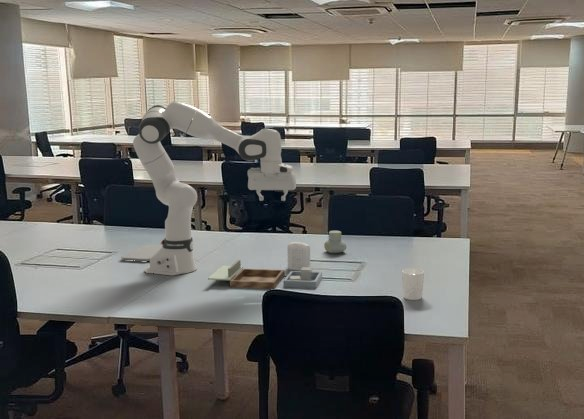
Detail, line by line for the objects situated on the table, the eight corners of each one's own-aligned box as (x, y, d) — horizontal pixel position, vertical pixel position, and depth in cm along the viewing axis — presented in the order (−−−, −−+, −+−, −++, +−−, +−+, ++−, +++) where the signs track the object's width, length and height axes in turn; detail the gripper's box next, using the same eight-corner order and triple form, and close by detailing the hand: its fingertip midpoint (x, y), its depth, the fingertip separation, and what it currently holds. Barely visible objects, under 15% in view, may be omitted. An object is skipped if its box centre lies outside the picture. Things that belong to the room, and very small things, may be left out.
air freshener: (348, 253, 302) (348, 233, 300) (332, 255, 299) (332, 234, 297) (338, 248, 312) (337, 228, 310) (322, 250, 309) (322, 230, 307)
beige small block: (302, 278, 261) (302, 267, 260) (312, 279, 260) (312, 267, 259) (300, 281, 257) (300, 269, 256) (310, 282, 257) (310, 270, 256)
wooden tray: (230, 288, 253) (229, 280, 252) (242, 275, 270) (242, 268, 270) (274, 290, 249) (274, 282, 249) (284, 276, 266) (284, 270, 266)
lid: (207, 279, 254) (207, 269, 253) (222, 266, 272) (222, 257, 271) (229, 280, 252) (229, 270, 251) (243, 267, 270) (242, 258, 269)
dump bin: (283, 288, 251) (283, 280, 251) (291, 277, 265) (290, 270, 264) (316, 289, 249) (316, 281, 248) (322, 279, 262) (322, 271, 262)
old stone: (290, 286, 252) (290, 278, 251) (290, 283, 256) (289, 276, 255) (300, 285, 252) (300, 278, 251) (300, 282, 256) (299, 275, 255)
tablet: (175, 250, 319) (175, 245, 318) (150, 263, 294) (149, 259, 294) (146, 248, 323) (146, 244, 323) (119, 262, 299) (118, 257, 299)
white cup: (420, 293, 240) (421, 268, 238) (425, 300, 232) (426, 273, 231) (400, 294, 240) (400, 268, 238) (404, 301, 232) (404, 274, 230)
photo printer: (312, 270, 276) (311, 242, 273) (307, 272, 272) (306, 244, 270) (291, 267, 281) (290, 240, 278) (286, 270, 277) (285, 242, 275)
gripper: (245, 168, 266) (246, 201, 268) (293, 168, 261) (294, 202, 264) (249, 166, 272) (250, 198, 274) (296, 166, 267) (297, 199, 270)
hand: (272, 200), depth 269 cm, fingers open, 8 cm apart
